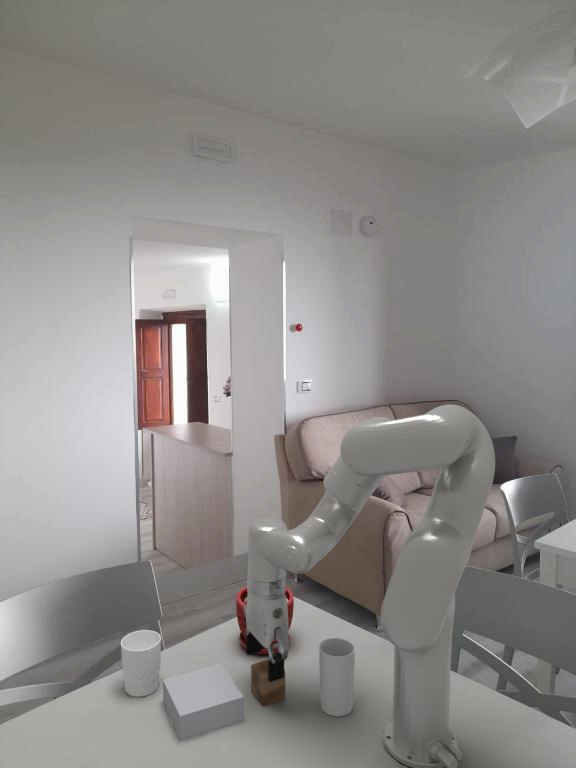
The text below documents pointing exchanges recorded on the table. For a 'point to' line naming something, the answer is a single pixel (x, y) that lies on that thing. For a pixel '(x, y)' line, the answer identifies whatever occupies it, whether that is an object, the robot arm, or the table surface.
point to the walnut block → (266, 685)
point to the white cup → (141, 662)
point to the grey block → (202, 701)
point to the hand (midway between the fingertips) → (264, 665)
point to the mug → (336, 676)
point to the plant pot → (241, 617)
